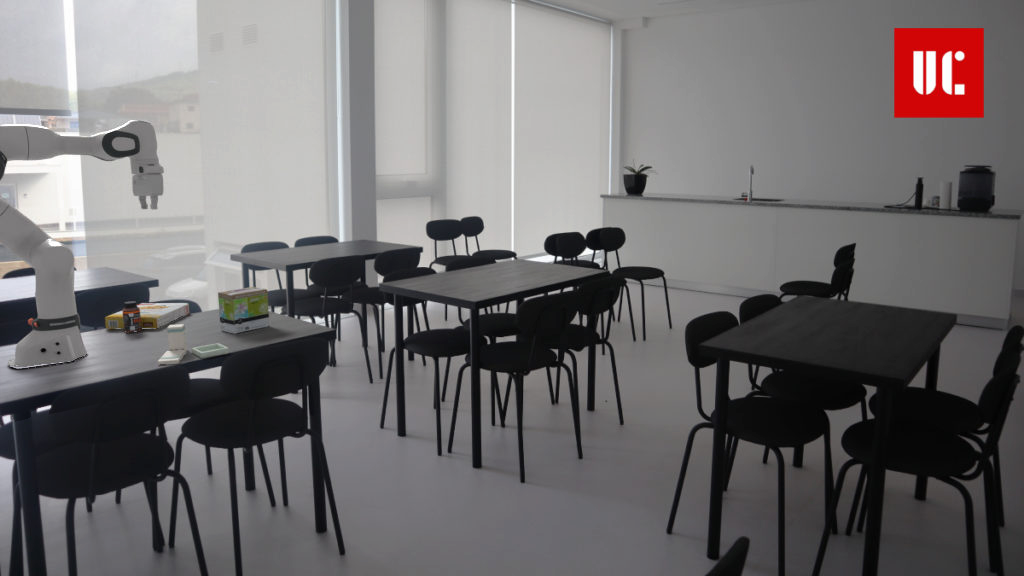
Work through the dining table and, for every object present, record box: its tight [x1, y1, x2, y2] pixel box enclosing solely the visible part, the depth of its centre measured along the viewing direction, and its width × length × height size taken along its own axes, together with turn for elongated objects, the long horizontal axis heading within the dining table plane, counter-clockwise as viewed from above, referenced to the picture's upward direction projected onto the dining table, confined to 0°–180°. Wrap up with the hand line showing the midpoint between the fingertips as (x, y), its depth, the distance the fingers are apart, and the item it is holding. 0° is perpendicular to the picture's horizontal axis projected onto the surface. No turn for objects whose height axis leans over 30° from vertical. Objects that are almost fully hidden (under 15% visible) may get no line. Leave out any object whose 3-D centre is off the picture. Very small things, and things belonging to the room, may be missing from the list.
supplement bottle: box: [121, 300, 142, 333], centre depth 289 cm, size 6×6×11 cm
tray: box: [191, 343, 230, 359], centre depth 257 cm, size 9×9×2 cm
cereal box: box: [104, 302, 190, 330], centre depth 307 cm, size 20×6×28 cm
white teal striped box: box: [166, 323, 188, 351], centre depth 259 cm, size 5×4×9 cm
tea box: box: [217, 286, 270, 335], centre depth 290 cm, size 15×10×15 cm, turn 143°
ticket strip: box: [157, 349, 187, 366], centre depth 251 cm, size 6×13×1 cm, turn 11°
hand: (149, 209), depth 267 cm, fingers open, 8 cm apart
